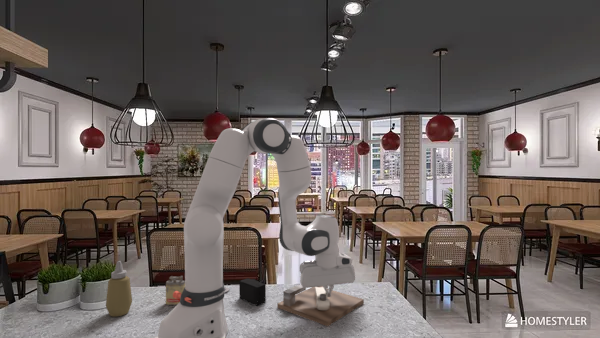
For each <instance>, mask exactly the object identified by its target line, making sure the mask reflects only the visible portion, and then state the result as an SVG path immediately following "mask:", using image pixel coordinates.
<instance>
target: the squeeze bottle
mask: <svg viewBox="0 0 600 338" xmlns="http://www.w3.org/2000/svg"><path fill="white" fill-rule="evenodd" d="M127 274H128V273H127V270H126V269H124V268H123V264H122V261H121V260H118V261H116V265H115V269H114V271H112V272H111V276H110V278H109V280H108V283H107V290H106V291H107V292H106V299H105V300H106V301H105V307H106V310H107V312H108V315H109V316H110V317H112V318H114V317H117V318H118V317H122V316H125V315H127V314H128V313H129V311H130V309H131V306H132V303H133V296H132V288H131V280H130V279H131V278H130V277H129V276H127Z"/></svg>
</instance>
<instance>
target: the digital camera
mask: <svg viewBox="0 0 600 338" xmlns="http://www.w3.org/2000/svg"><path fill="white" fill-rule="evenodd" d="M238 283H239V288H238V289H239V299H240V300H242V301H244V302H247V303H249V304H251V305H254V306H256V307H258V306H259V307H260V306H261V305H263V304H265V303H266V302H267V301H266V300H267V299H266V298H267V297H266V294H267V293H266V292H267V291H266V290H267V289H266V285H267V284H266V283H263V282H260V281H258V280H257V279H255V278H245V279H242V280H239V282H238Z"/></svg>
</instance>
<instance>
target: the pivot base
mask: <svg viewBox="0 0 600 338" xmlns="http://www.w3.org/2000/svg"><path fill="white" fill-rule="evenodd" d="M326 289H327V290H328V289H329V288H326ZM282 293H283V294H282V295H283V300H282V301H280V302H278V303H277V305H276V307H277V309H280V310H283V311H286V312H288V313H291V314H293V315H295V316H298V317H301V318H304V319H306V320H309V321H312V322H315V323H317V324H320V325H323V326H325V327H330V326H331V325H333V324H334V323H335V322H337V321H339V320H340V319H342V318H344V317H345V316H347V315H348V314H349V313H351V312H353V311H355V309H357V308H359V307H360V306H363V304H364V303H365V300H364V298H360V297H356V296H354V295H351V294H347V293H343V292H340V291H336V290H334V289H333V290H332V292H331V297H327V299H329V300H330V308H329V309H328V310H324V311H323V310H318V309H317V308H316V295H315V287H310V288H303V287H302V285H301V284H300V283H299V284H297V285H294V286H293V287H290V288H288V289H285V290H284V291H283V292H282ZM320 300H321V301H325V300H326V294H320ZM343 316H344V317H343Z"/></svg>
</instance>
